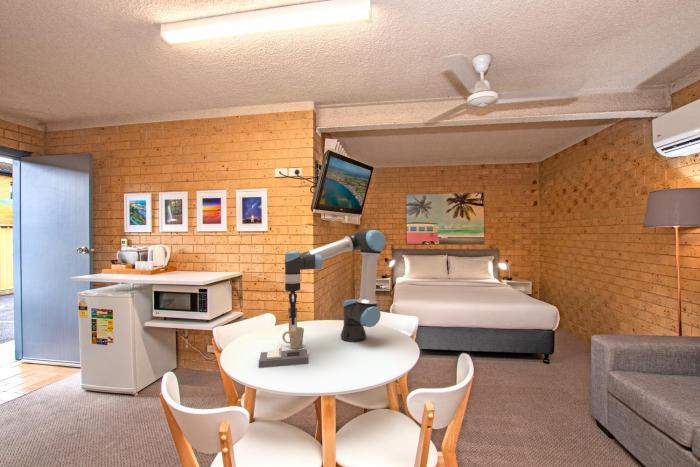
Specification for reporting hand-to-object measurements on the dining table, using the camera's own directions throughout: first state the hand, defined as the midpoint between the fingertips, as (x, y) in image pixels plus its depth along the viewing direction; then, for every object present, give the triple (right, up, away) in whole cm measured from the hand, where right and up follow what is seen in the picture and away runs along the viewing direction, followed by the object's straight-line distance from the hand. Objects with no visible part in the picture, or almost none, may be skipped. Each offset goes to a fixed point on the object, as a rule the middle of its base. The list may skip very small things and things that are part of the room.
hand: (292, 329), depth 161 cm
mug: (-4, -16, +19) cm, 25 cm away
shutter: (-9, -12, -2) cm, 15 cm away
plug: (0, -2, 0) cm, 2 cm away
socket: (-4, -15, -1) cm, 16 cm away
